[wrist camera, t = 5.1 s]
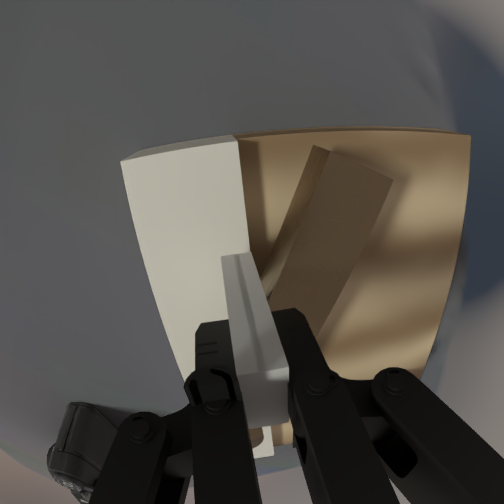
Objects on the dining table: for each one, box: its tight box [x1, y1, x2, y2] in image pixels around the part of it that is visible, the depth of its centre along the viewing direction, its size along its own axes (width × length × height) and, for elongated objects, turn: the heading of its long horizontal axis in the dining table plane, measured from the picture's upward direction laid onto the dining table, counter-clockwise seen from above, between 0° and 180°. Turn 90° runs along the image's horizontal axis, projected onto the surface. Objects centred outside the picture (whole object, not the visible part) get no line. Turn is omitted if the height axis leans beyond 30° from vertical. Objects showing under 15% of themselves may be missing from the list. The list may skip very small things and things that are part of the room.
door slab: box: [232, 126, 471, 447], centre depth 21 cm, size 26×14×3 cm, turn 6°
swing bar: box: [249, 145, 393, 449], centre depth 15 cm, size 18×4×3 cm, turn 161°
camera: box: [47, 402, 118, 504], centre depth 22 cm, size 14×11×10 cm
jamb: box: [120, 135, 274, 458], centre depth 19 cm, size 26×5×6 cm, turn 6°
